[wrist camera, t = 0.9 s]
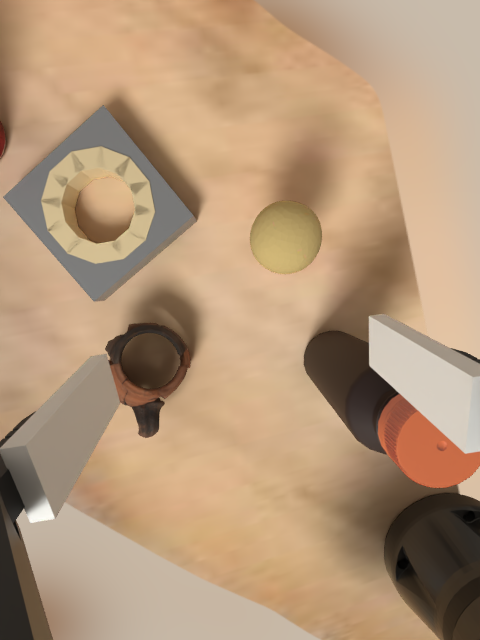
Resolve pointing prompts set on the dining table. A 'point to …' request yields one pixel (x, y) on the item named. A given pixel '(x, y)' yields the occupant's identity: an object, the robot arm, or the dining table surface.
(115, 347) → the pottery mug
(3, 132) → the soda can
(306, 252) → the light bulb
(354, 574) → the dining table surface
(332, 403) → the bottle
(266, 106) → the dining table surface
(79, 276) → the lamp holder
